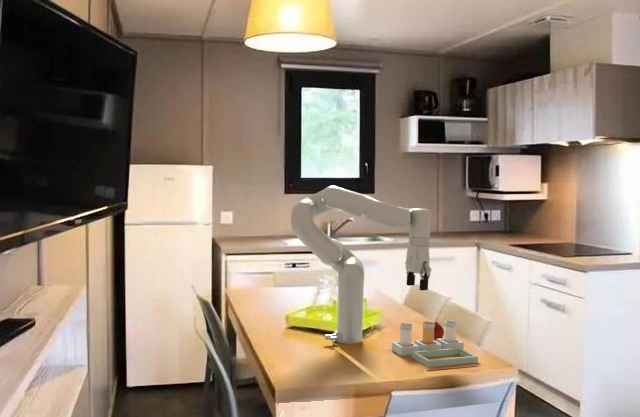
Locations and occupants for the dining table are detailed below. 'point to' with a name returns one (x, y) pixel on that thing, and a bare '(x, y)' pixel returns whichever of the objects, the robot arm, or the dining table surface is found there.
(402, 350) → the fuse holder
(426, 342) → the marked fuse
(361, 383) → the dining table surface
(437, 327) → the onion
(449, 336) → the cylinder
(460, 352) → the tray
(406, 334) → the cylinder
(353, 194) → the robot arm
